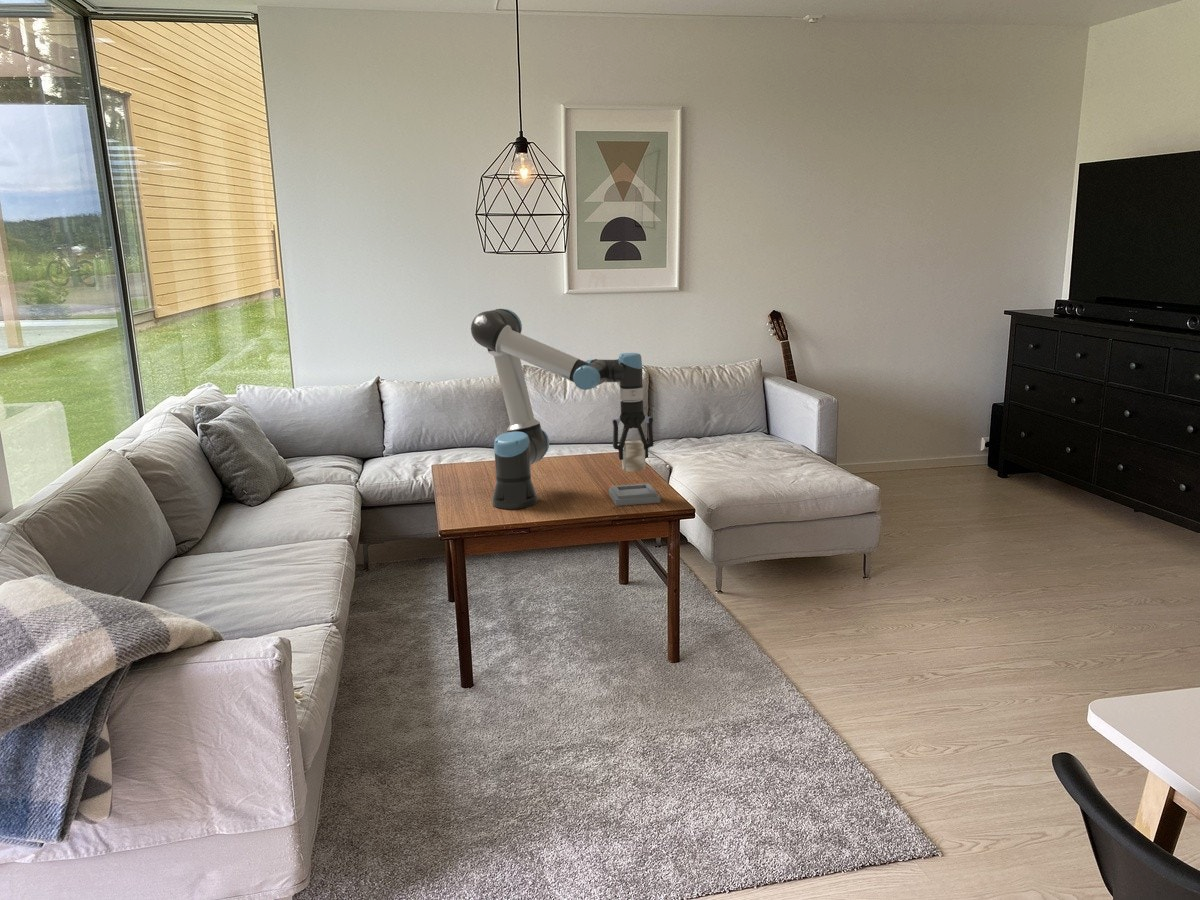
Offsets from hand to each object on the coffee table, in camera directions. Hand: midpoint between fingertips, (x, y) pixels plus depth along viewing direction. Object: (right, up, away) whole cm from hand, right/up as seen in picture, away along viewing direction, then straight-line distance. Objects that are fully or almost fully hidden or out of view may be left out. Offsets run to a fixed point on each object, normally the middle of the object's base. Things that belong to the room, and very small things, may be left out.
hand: (633, 468), depth 294 cm
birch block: (0, 0, 0) cm, 0 cm away
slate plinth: (0, -10, +2) cm, 10 cm away
